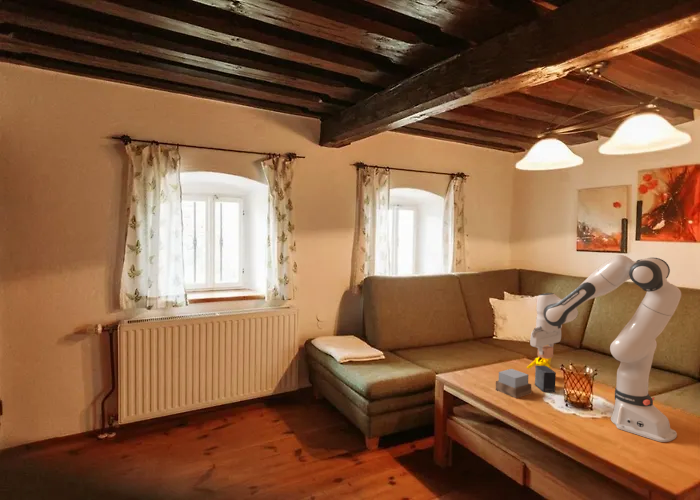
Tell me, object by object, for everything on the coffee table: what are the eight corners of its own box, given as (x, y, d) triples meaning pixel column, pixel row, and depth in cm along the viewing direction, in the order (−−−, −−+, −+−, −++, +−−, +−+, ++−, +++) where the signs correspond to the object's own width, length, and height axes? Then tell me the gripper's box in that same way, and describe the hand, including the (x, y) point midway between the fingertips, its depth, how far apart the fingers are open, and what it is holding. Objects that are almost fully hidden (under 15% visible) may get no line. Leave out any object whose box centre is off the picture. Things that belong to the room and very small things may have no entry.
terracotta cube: (553, 357, 198) (553, 347, 198) (546, 358, 196) (547, 348, 196) (543, 354, 203) (543, 344, 202) (537, 356, 200) (537, 346, 200)
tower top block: (528, 384, 204) (528, 374, 204) (515, 388, 199) (515, 378, 199) (511, 377, 213) (511, 368, 213) (498, 381, 208) (498, 372, 208)
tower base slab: (531, 394, 205) (531, 384, 204) (515, 399, 198) (515, 389, 198) (510, 386, 215) (511, 376, 215) (495, 390, 209) (495, 381, 208)
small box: (556, 392, 205) (556, 372, 205) (543, 392, 206) (543, 372, 205) (546, 384, 216) (547, 365, 215) (534, 384, 216) (534, 365, 215)
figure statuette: (524, 373, 232) (524, 335, 231) (532, 371, 236) (533, 334, 234) (552, 384, 216) (553, 343, 215) (561, 381, 220) (562, 341, 219)
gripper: (538, 329, 190) (538, 358, 191) (564, 324, 201) (563, 351, 202) (526, 327, 196) (526, 355, 196) (552, 321, 206) (551, 348, 207)
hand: (545, 353), depth 199 cm, fingers closed on terracotta cube, 5 cm apart
